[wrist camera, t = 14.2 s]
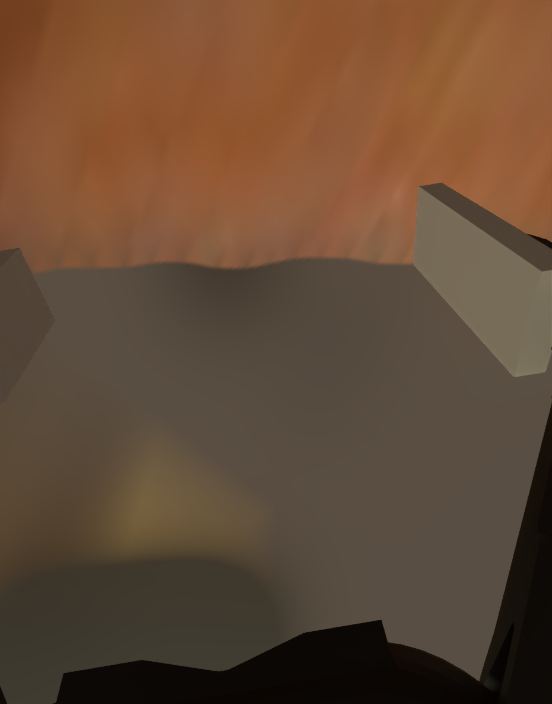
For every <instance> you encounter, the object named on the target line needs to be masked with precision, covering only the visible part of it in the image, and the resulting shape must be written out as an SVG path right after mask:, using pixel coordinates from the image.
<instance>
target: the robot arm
mask: <svg viewBox="0 0 552 704" xmlns="http://www.w3.org/2000/svg"><path fill="white" fill-rule="evenodd" d="M413 265H414V266H415V267H416V268H417V269H418V270H419V271H420V272H421V273H422V275H423V276H424V277H425V278H426V279H427V280H428V281H429V282H430V283H431V284H432V286H433V287H434V288H435V289H436V290H437V291H438V293H439V294H440V295H441V296H442V297H443V298H444V299H445V300H446V302H447V303H448V304H449V305H450V306H451V307H452V308H453V309H454V310H455V311H456V313H457V314H458V315H459V316H460V317H461V318H462V319H463V321H464V322H465V323H466V324H467V325H468V326H469V327H470V328H471V329H472V330H473V332H474V333H475V334H476V335H477V336H478V337H479V339H480V340H481V341H482V342H483V343H484V344H485V345H486V346H487V347H488V348H489V350H490V351H491V352H492V353H493V354H494V355H495V356H496V358H497V359H498V360H499V361H500V362H501V363H502V364H503V365H504V366H505V368H506V369H507V370H508V371H509V372H510V373H511V374H512V375H513V377H518V376H524V375H530V374H536V373H543V372H545V371H546V368H547V365H548V362H549V359H550V356H551V353H552V242H550V241H548V240H547V239H543V238H540V237H537V236H533V235H530V234H526V233H524V232H522V231H521V230H519V229H517V228H516V227H514V226H512V225H511V224H509V223H507V222H506V221H504V220H503V219H501V218H499V217H498V216H496V215H494V214H493V213H491V212H489V211H488V210H486V209H484V208H483V207H481V206H479V205H478V204H476V203H474V202H473V201H471V200H469V199H468V198H466V197H464V196H463V195H461V194H459V193H458V192H456V191H454V190H453V189H451V188H449V187H448V186H446V185H444V184H443V183H437V184H431V185H424V186H419V189H418V203H417V216H416V230H415V244H414V258H413ZM54 322H55V319H54V316H53V315H52V312H51V310H50V308H49V306H48V305H47V303H46V300H45V298H44V297H43V294H42V292H41V290H40V288H39V287H38V284H37V282H36V280H35V278H34V276H33V274H32V272H31V270H30V268H29V266H28V264H27V262H26V260H25V258H24V256H23V254H22V252H21V250H20V248H17V249H10V250H4V251H0V409H1V408H2V406H3V404H4V403H5V401H6V399H7V398H8V396H9V395H10V393H11V391H12V390H13V388H14V387H15V385H16V383H17V382H18V380H19V378H20V377H21V375H22V373H23V372H24V370H25V369H26V367H27V365H28V364H29V362H30V361H31V359H32V357H33V356H34V354H35V352H36V351H37V349H38V348H39V346H40V344H41V343H42V341H43V340H44V338H45V336H46V334H47V333H48V332H49V330H50V328H51V327H52V325H53V323H54ZM551 398H552V396H551ZM0 704H7V702H6V700H5V697H4V694H3V692H2V690H1V687H0ZM54 704H552V404H551V408H550V413H549V416H548V420H547V424H546V429H545V432H544V436H543V440H542V444H541V448H540V452H539V456H538V460H537V464H536V468H535V472H534V476H533V480H532V484H531V488H530V492H529V496H528V500H527V504H526V508H525V512H524V516H523V520H522V524H521V528H520V531H519V535H518V539H517V543H516V548H515V551H514V555H513V559H512V563H511V567H510V571H509V575H508V579H507V583H506V587H505V591H504V595H503V599H502V603H501V607H500V611H499V615H498V619H497V623H496V627H495V630H494V634H493V637H492V641H491V644H490V647H489V650H488V653H487V656H486V660H485V663H484V666H483V670H482V673H481V677H480V681H478V680H476V679H475V678H473V677H472V676H471V675H469V674H468V673H466V672H465V671H463V670H461V669H460V668H458V667H456V666H454V665H453V664H451V663H449V662H447V661H446V660H444V659H442V658H439V657H437V656H435V655H432V654H430V653H427V652H425V651H423V650H419V649H416V648H412V647H409V646H405V645H401V644H395V643H389V642H387V638H386V635H385V631H384V627H383V624H382V620H377V621H371V622H366V623H360V624H353V625H348V626H341V627H336V628H330V629H324V630H318V631H312V632H306V633H303V634H301V635H299V636H297V637H295V638H292V639H291V640H288V641H286V642H285V643H282V644H280V645H278V646H276V647H274V648H272V649H270V650H268V651H266V652H264V653H262V654H260V655H258V656H256V657H254V658H252V659H250V660H248V661H246V662H244V663H241V664H239V665H237V666H236V667H233V668H231V669H229V670H225V671H211V670H204V669H198V668H191V667H184V666H177V665H171V664H165V663H158V662H152V661H145V660H139V661H134V662H128V663H122V664H116V665H110V666H104V667H98V668H92V669H87V670H80V671H74V672H68V673H64V674H63V678H62V682H61V686H60V690H59V694H58V698H57V701H56V703H54Z"/></svg>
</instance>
